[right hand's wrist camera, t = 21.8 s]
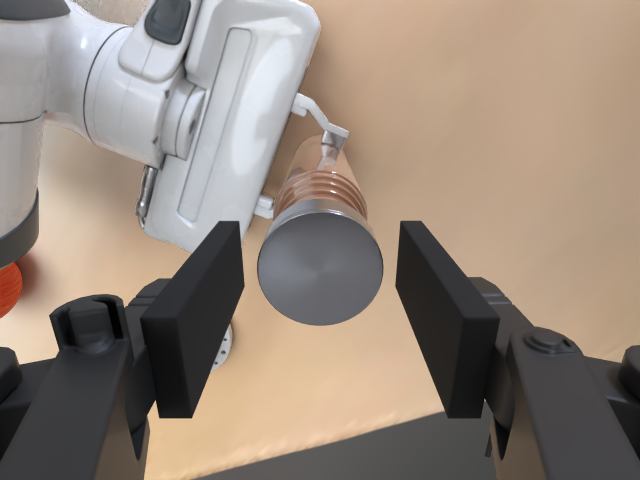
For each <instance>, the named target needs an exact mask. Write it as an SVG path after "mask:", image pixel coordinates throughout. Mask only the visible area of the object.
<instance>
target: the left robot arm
mask: <svg viewBox="0 0 640 480" xmlns="http://www.w3.org/2000/svg"><path fill="white" fill-rule="evenodd" d="M320 32H321V24H320V21H319V19H318V16H317V14H316V12H315V11H314V9H313V8H312V7H310V6H309V5H307V4H305V3H303V2H301V1H299V0H151V1H150V3H149V4H148V6H147V8H146V9H145V11H144V13H143V14H142V16H141V17H140V19H139V21H138V22H137V24H136V25H135V27H134V28H133V27H131V26H128V25H124V24H118V23H110V22H106V21H102V20H100V19H97V18H96V17H94V16H92V15H91V14H89V13H88V12H87V11H86V10H84V9H83V8H82V7H81V6H79V5H78V4H76V3H74V2H72V1H71V0H0V270H1V269H3V268H5V267H7V266H8V265H10V264H11V263H13V262H14V261H16V260H17V259H19V258H20V257H22V256H23V255H24V254H26V253H27V252H28V251H29V250H30V249H31V248H32V246H33V245H34V244H35V242H36V240H37V238H38V234H39V193H38V187H37V182H38V173H39V163H40V154H41V144H42V135H43V125H44V124H45V125H51V126H59V127H64V128H68V129H70V130H73V131H75V132H76V133H78V134H79V135H81V136H82V137H83V138H85V139H86V140H88V141H89V142H91V143H93V144H95V145H97V146H100V147H102V148H104V149H107V150H110V151H112V152H115V153H117V154H120V155H123V156H125V157H128V158H130V159H133V160H136V161H138V162H141V163H143V164H145V167H144V171H143V176H142V180H141V187H140V194H139V198H138V199H137V201H136V204H135V215H137V216H138V219H139V223H140V226H141V228H142V229H143V230H144V233H146V234H147V235H148V236H150V237H152V238H155V239H158V240H161V241H163V242H166V243H173V244H175V245H176V246H178V247H180V248H182V249H184V250H186V251H188V252H190V253H193V252H194V251H195V249H196V248H197V247H198V246H199V245H200V243H201V242H202V241H203V240H204V238H205V237H206V236H207V235H208V234H209V232H210V231H211V230H212V229H213V227H214V226H215V225H216V224H217V223H218V221H239V223H240V235H241V248H243V245H244V242H245V239H246V237H247V234H248V231H249V228H250V226H251V223H252V220H253V217H254V215H258V216H260V217H263V218H266V219H271V218H273V209H274V204H275V203H274V204H273V202H274V200H275V197H274V196H272V195H269V194H267V193H264V192H263V190H264V187H265V184H266V182H267V179H268V176H269V173H270V171H271V168H272V165H273V162H274V160H275V157H276V154H277V151H278V149H279V146H280V143H281V140H282V138H283V135H284V132H285V129H286V127H287V124H288V121H289V118H290V116H291V113H295V114H297V115H300V116H302V117H305V116H306V115H307V112H308V110H309V112H310V113H311V114H312V116H313V117H314V118H315V120H316V121H317V122H318V124H319V125H320V126H321V127H322V129H323V130H324V133H323V135H322V138H321V142H322V143H325V144H327V145H333V146H334V147H335V148H336V149H339V150H342V149H343V147H344V145H345V143H346V140H347V138H348V136H349V133H350V132H349V131H347V130H345V129H343V128H341V127H339V126H336V125H334V124H332V123H329V121H328V119H327V118H326V116H325V115H324V114H323V112H322V111H321V110H320V108H319V107H318V106H317V104H316V103H315V102H314V100H313V99H311V98H309V97H307V96H304V95H302V94H300V93H299V91H300V88H301V85H302V83H303V80H304V77H305V74H306V72H307V69H308V66H309V63H310V61H311V58H312V55H313V52H314V50H315V47H316V44H317V41H318V38H319V36H320ZM144 217H146V221H145V222H144Z"/></svg>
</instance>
